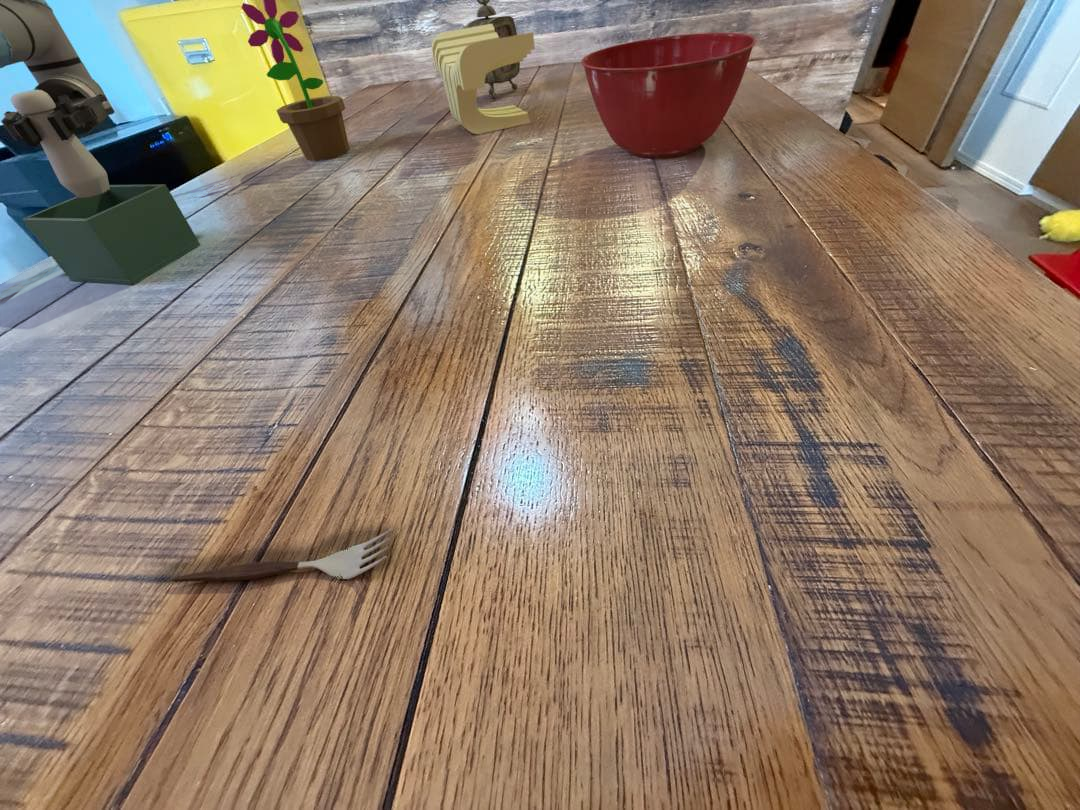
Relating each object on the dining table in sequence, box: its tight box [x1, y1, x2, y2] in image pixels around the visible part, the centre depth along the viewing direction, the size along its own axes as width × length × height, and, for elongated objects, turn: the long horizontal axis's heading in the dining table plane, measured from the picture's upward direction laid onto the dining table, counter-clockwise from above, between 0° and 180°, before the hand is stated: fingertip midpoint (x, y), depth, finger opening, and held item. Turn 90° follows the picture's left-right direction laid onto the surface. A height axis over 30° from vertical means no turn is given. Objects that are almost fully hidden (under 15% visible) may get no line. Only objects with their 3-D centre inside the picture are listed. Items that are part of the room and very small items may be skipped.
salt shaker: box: [10, 89, 110, 198], centre depth 71 cm, size 6×6×13 cm
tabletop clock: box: [463, 0, 521, 101], centre depth 138 cm, size 14×9×25 cm, turn 149°
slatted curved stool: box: [430, 24, 536, 135], centre depth 117 cm, size 30×16×18 cm, turn 20°
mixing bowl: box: [580, 32, 757, 159], centre depth 90 cm, size 28×28×16 cm
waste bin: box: [21, 183, 201, 286], centre depth 79 cm, size 13×13×10 cm
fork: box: [171, 528, 393, 583], centre depth 35 cm, size 3×16×2 cm, turn 93°
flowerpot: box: [241, 0, 350, 162], centre depth 109 cm, size 14×14×30 cm
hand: (41, 132), depth 66 cm, fingers closed on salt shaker, 3 cm apart
